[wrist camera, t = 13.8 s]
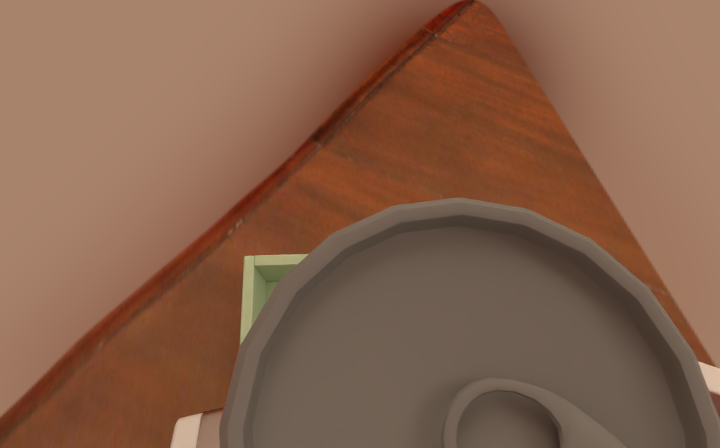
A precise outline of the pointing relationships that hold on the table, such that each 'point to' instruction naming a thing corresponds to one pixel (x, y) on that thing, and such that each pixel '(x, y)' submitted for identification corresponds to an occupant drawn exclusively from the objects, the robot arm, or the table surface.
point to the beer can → (464, 343)
